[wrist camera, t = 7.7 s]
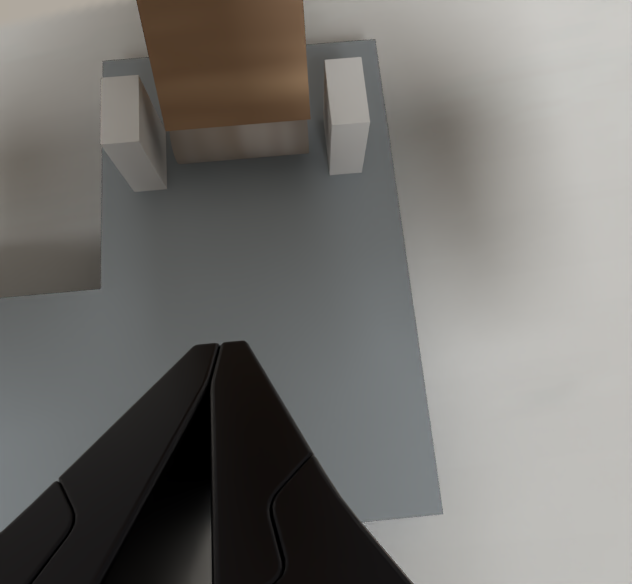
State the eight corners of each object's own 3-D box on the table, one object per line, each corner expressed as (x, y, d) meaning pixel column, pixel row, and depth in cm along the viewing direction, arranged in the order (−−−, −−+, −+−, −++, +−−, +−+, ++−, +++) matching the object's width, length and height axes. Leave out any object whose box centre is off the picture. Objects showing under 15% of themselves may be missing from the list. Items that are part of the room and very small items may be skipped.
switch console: (428, 506, 17) (471, 529, 12) (-377, 586, 16) (-657, 642, 11) (369, 77, 21) (385, -30, 16) (-280, 130, 20) (-460, 35, 15)
